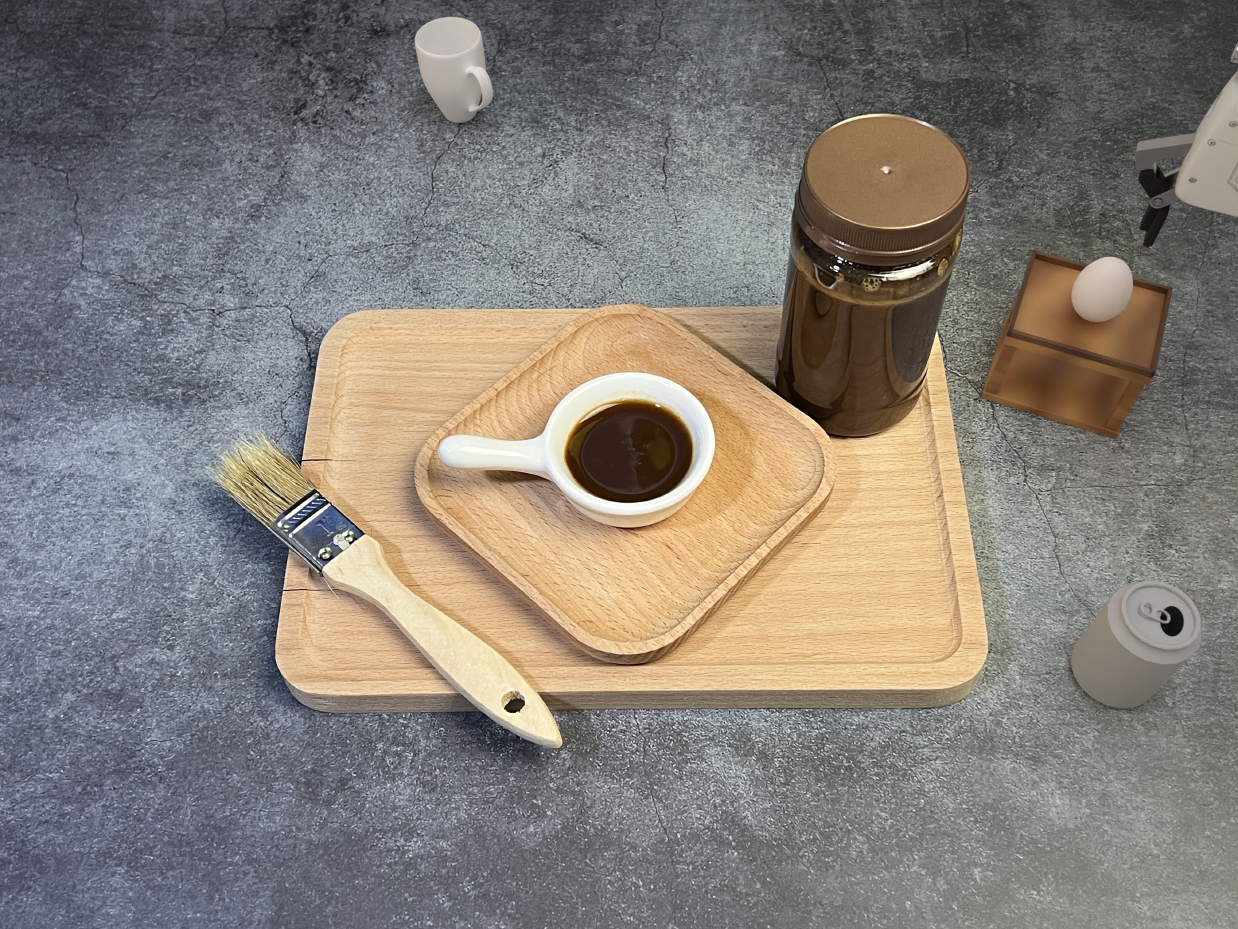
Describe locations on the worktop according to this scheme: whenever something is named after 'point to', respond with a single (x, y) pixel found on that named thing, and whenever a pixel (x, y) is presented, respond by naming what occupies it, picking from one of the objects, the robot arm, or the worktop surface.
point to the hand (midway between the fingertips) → (1208, 251)
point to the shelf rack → (1075, 350)
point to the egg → (1102, 289)
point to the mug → (454, 67)
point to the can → (1136, 643)
